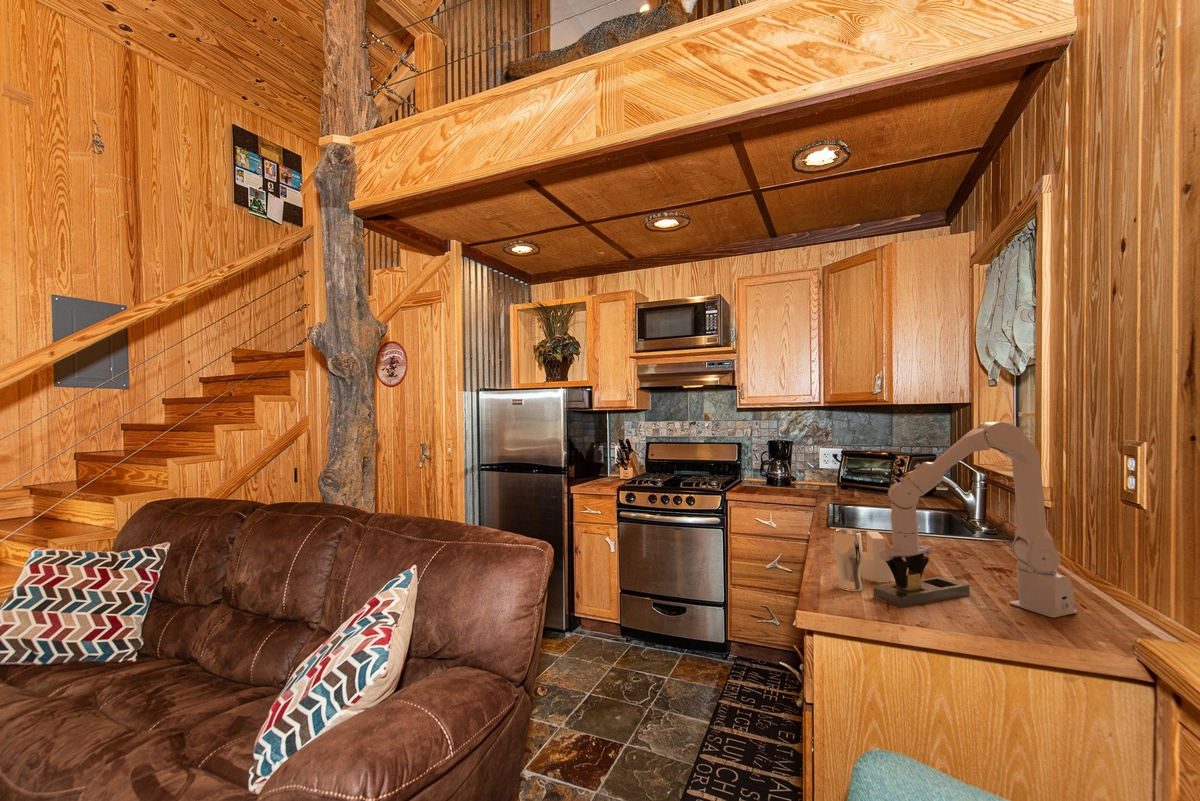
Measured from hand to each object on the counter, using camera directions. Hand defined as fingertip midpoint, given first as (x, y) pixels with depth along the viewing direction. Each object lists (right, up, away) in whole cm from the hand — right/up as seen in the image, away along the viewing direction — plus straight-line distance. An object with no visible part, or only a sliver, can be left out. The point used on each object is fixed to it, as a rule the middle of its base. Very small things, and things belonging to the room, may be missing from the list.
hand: (908, 585), depth 131 cm
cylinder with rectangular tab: (+1, -4, +17) cm, 17 cm away
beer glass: (-10, -4, +9) cm, 14 cm away
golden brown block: (0, -2, 0) cm, 2 cm away
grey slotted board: (+4, -3, +1) cm, 5 cm away
